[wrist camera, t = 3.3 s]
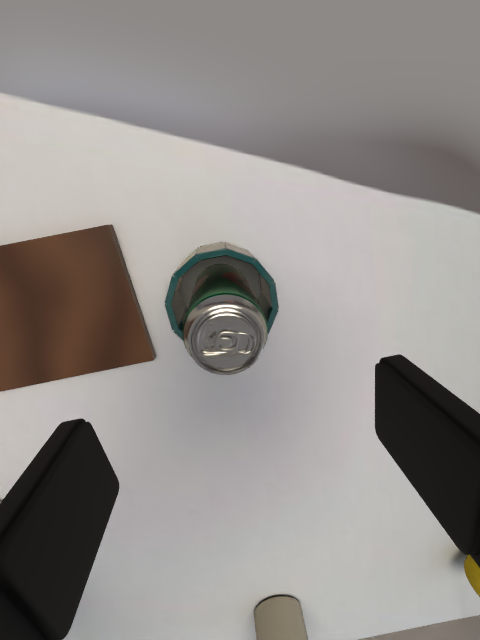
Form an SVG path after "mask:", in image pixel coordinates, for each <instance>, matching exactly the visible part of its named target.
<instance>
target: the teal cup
mask: <svg viewBox="0 0 480 640" xmlns="http://www.w3.org/2000/svg"><path fill="white" fill-rule="evenodd" d="M224 255H227V256H230V257H233V258H236V259H239V260H242V261H244V262H247V263H250V264H252V265H253V266H254V267H255V268H256V270H257V271H258V273H259V279H260V285H261V291H262V292H261V295H260V297H259V300H258V304H259V306H260V308H261V310H262V312H263V314H264V316H265V319H266V322H267V328H268V334H269V331H270V329H271V327H272V324H273V322H274V320H275V317H276V315H277V312H278V308H279V307H278V300H277V293H276V286H275V282H274V280H273V278H272V277H271V276H270V275H269V274H268V272H267V271H266V270H265V269H264V267H263V266H262V265H261V264H260V263H259V261H258V260H257V259H256V258H255V257H254V256H253V255H252V254H251V253H250V252H249V251H247V250H246V249H243V248H240V247H237V246H235V245H232V244H229V243H226V242H220V243H215V244H210V245H205V246H200V248H199V247H198V248H197V249H196V250H195V251H194V252H193V253H192V254H191V255H189V256H188V257H187V258H186V259H185V260H184V261H183V262H182V263H181V264H180V266H179V267H178V268H177V270H176V271H175V273H174V274H173V276H172V278H171V282H170V285H169V289H168V293H167V296H166V300H165V307H166V310H167V314H168V317H169V320H170V324H171V327H172V330H174V333H175V334H177V335H178V336H179V337H180V338H181V339H182V340H183V324H184V320H185V317H186V313H187V309H186V308H185V305H184V301H183V298H182V294H181V290H180V284H181V281H182V278H183V274H184V273H186V272H187V271H188V270H189V269H190V268H191V267H192V266H193V265H194V264H195V263H197V262H198V261H199V260H204V259H209V258H214V257H219V256H224Z"/></svg>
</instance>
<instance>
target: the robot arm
mask: <svg viewBox="0 0 480 640" xmlns="http://www.w3.org/2000/svg"><path fill="white" fill-rule="evenodd" d="M375 430H376V434H377V436H378V438H379V440H380V441H381V442H382V444H383V445H384V447H385V448H386V449H387V451H388V452H389V454H390V455H391V456H392V458H393V459H394V460H395V462H396V463H397V465H398V466H399V467H400V469H401V470H402V471H403V473H404V474H405V476H406V477H407V478H408V480H409V481H410V483H411V484H412V485H413V487H414V488H415V489H416V491H417V492H418V494H419V495H420V496H421V498H422V499H423V500H424V502H425V503H426V505H427V506H428V507H429V509H430V510H431V511H432V513H433V514H434V516H435V517H436V518H437V520H438V521H439V523H440V524H441V525H442V527H443V528H444V529H445V531H446V532H447V534H448V535H449V536H450V538H451V539H452V540H453V542H454V543H455V545H456V546H457V547H458V548H459V550H460V551H461V552H462V553H464V554H465V555H470V556H471V557H472V558H473V560H474V561H475V562H476V564H477V565H478V567H479V568H480V414H479V413H478V412H476V411H475V410H474V409H473V408H471V407H470V406H469V405H467V404H466V403H465V402H463V401H462V400H461V399H459V398H458V397H457V396H455V395H454V394H453V393H451V392H450V391H449V390H447V389H446V388H445V387H443V386H442V385H441V384H440V383H438V382H437V381H436V380H434V379H433V378H432V377H430V376H429V375H428V374H426V373H425V372H424V371H422V370H421V369H420V368H418V367H417V366H416V365H414V364H413V363H412V362H410V361H409V360H408V359H406V358H405V357H404V356H402V355H394V356H389V357H384V358H381V359H380V362H379V363H377V364H376V366H375ZM118 492H119V481H118V478H117V476H116V474H115V472H114V470H113V468H112V466H111V464H110V462H109V460H108V458H107V456H106V454H105V452H104V450H103V447H102V445H101V443H100V441H99V439H98V437H97V435H96V433H95V431H94V429H93V427H92V425H91V423H89V422H86V421H85V420H84V419H76V420H71V421H66V422H63V423H61V424H60V425H59V426H58V427H57V428H56V430H55V431H54V432H53V434H52V435H51V436H50V438H49V439H48V440H47V442H46V443H45V444H44V446H43V447H42V448H41V450H40V451H39V452H38V454H37V455H36V456H35V458H34V459H33V460H32V462H31V463H30V464H29V466H28V467H27V468H26V470H25V471H24V472H23V474H22V475H21V476H20V478H19V479H18V480H17V482H16V483H15V485H14V486H13V487H12V489H11V490H10V491H9V493H8V494H7V495H6V497H5V498H4V499H3V501H0V640H62V639H64V638H65V637H66V636H67V634H68V632H69V630H70V628H71V625H72V622H73V620H74V617H75V614H76V611H77V608H78V605H79V603H80V600H81V597H82V594H83V591H84V588H85V586H86V583H87V580H88V577H89V574H90V571H91V569H92V566H93V563H94V560H95V557H96V554H97V552H98V549H99V546H100V543H101V540H102V537H103V535H104V532H105V529H106V526H107V523H108V520H109V518H110V515H111V512H112V509H113V506H114V504H115V501H116V498H117V495H118ZM359 640H480V615H479V616H473V617H467V618H462V619H457V620H452V621H447V622H442V623H437V624H432V625H427V626H422V627H418V628H413V629H408V630H403V631H398V632H393V633H388V634H383V635H378V636H373V637H369V638H364V639H359Z"/></svg>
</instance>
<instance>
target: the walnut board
mask: <svg viewBox="0 0 480 640" xmlns="http://www.w3.org/2000/svg"><path fill="white" fill-rule="evenodd" d="M155 356H156V355H155V352H154V349H153V346H152V343H151V340H150V337H149V334H148V331H147V328H146V325H145V322H144V319H143V316H142V313H141V310H140V307H139V304H138V301H137V298H136V295H135V292H134V289H133V286H132V283H131V280H130V277H129V274H128V271H127V268H126V265H125V262H124V259H123V256H122V253H121V250H120V247H119V244H118V241H117V238H116V235H115V232H114V229H113V226H112V225H104V226H99V227H94V228H89V229H84V230H79V231H74V232H69V233H63V234H58V235H53V236H48V237H43V238H38V239H33V240H28V241H22V242H17V243H12V244H7V245H2V246H0V391H5V390H10V389H15V388H20V387H25V386H30V385H34V384H39V383H44V382H49V381H54V380H59V379H64V378H69V377H74V376H78V375H83V374H88V373H93V372H98V371H103V370H108V369H113V368H118V367H123V366H127V365H132V364H137V363H142V362H147V361H152V360H154V358H155Z"/></svg>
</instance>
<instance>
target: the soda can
mask: <svg viewBox="0 0 480 640" xmlns="http://www.w3.org/2000/svg"><path fill="white" fill-rule="evenodd" d="M267 334H268V328H267V322H266V319H265V316H264V314H263V312H262V310H261V308H260V306H259V304H258V302H257V300H256V298H255V297H254V295H253V293H252V291H251V289H250V287H249V285H248V283H247V281H246V279H245V277H244V276H243V274H242V273H241V272H240V271H239V270H238V269H236V268H235V267H233V266H230V265H226V264H216V265H212V266H210V267H208V268H206V269H205V270H204V271H202V272H201V274H200V275H199V276H198V278H197V280H196V283H195V286H194V289H193V293H192V296H191V300H190V303H189V307H188V310H187V313H186V317H185V320H184V324H183V341H184V344H185V347H186V349H187V351H188V353H189V354H190V355H191V357H192V358H193V359H194V361H195V362H196V363H197V364H198V365H199V366H200V367H202V368H203V369H205V370H207V371H209V372H211V373H214V374H219V375H231V374H236V373H239V372H242V371H244V370H246V369H247V368H249V367H250V366H251V365H253V364H254V363H255V362H256V360H257V359H258V358H259V356H260V354H261V352H262V350H263V348H264V346H265V344H266V340H267Z"/></svg>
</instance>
